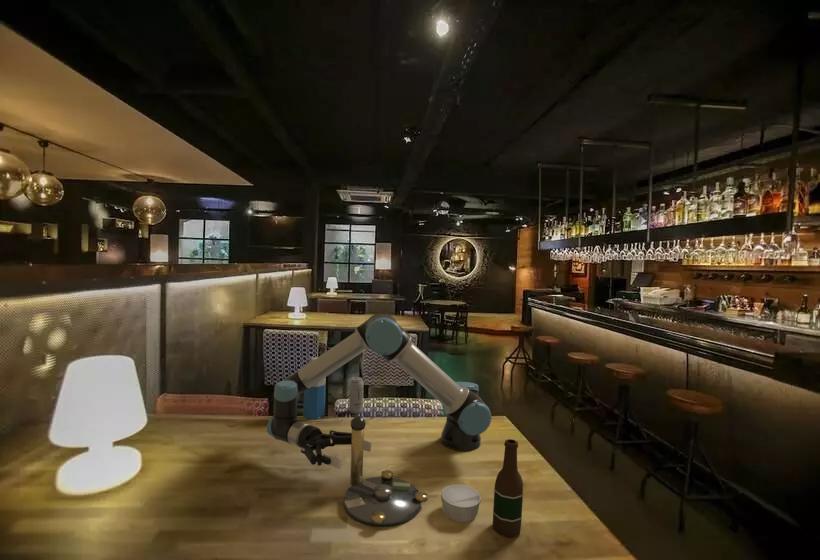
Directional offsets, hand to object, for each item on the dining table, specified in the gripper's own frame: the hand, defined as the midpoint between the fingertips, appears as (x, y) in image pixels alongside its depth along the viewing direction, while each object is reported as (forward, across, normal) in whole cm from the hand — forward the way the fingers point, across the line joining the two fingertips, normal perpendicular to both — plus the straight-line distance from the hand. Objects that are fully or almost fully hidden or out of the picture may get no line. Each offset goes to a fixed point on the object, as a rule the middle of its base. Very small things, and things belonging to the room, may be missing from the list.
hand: (356, 455), depth 131 cm
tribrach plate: (+10, 0, -11) cm, 15 cm away
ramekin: (+30, -10, -12) cm, 34 cm away
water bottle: (-53, -35, -12) cm, 65 cm away
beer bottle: (+44, -11, -12) cm, 46 cm away
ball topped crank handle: (+5, 0, -9) cm, 11 cm away
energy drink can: (-42, -50, -12) cm, 66 cm away
